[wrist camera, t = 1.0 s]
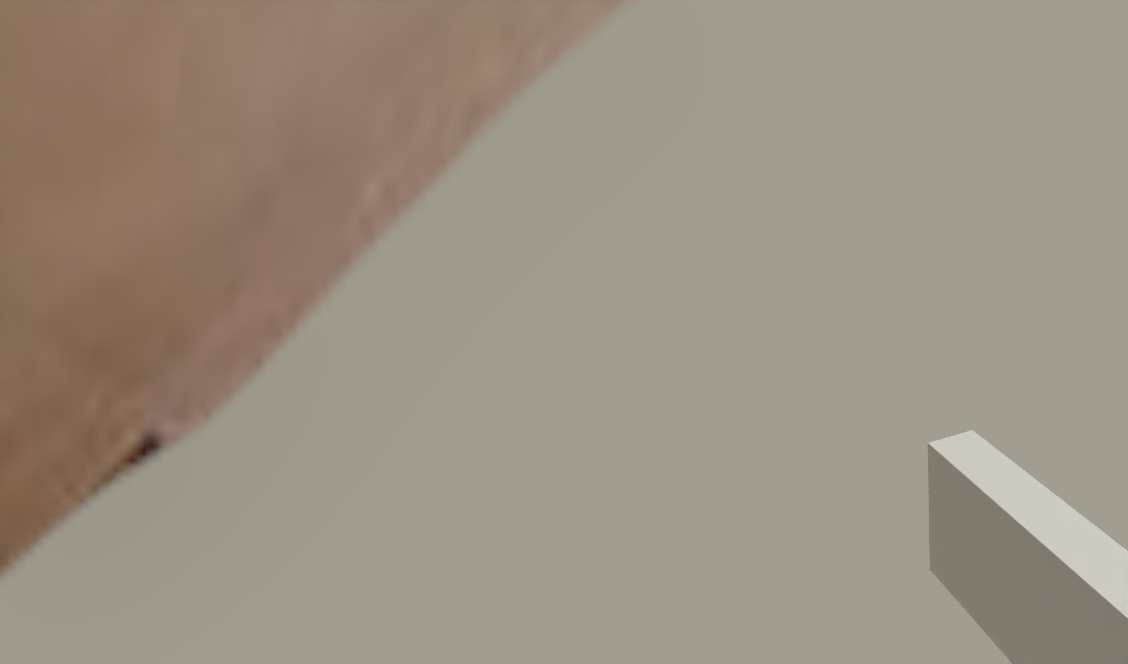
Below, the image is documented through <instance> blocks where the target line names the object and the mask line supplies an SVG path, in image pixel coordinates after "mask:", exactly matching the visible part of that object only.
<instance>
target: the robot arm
mask: <svg viewBox="0 0 1128 664" xmlns="http://www.w3.org/2000/svg"><path fill="white" fill-rule="evenodd" d="M928 474H929V475H928V477H929V546H930V570H931V571H932V572H933V574H934V575H935V576H936V577H937V578H938V579H939V580H940V582H941V583H942V584H943V585H944V586H945V587H946V588H947V590H949V592H950V593H951V594H952V595H953V596H954V598H955V599H956V600H957V601H958V602H959V603H960V604H961V605H962V607H963V608H964V609H965V610H966V611H967V612H968V613H969V615H970V616H971V617H972V618H973V619H974V620H975V622H977V624H978V625H979V626H980V627H981V628H982V629H983V631H984V632H985V633H986V634H987V635H988V636H989V637H990V638H991V640H992V641H993V642H994V643H995V644H996V645H997V647H998V648H999V649H1000V650H1001V651H1002V652H1003V653H1004V655H1005V656H1006V657H1007V658H1008V659H1009V660H1010V661H1011V663H1012V664H1128V551H1127V550H1125V549H1124V548H1123V547H1122V546H1120V545H1119V544H1118V543H1117V542H1115V541H1114V540H1113V539H1111V538H1110V537H1109V536H1108V535H1106V534H1105V533H1104V532H1102V531H1101V530H1100V529H1099V528H1097V527H1096V526H1095V525H1093V524H1092V523H1091V522H1090V521H1088V520H1087V519H1086V518H1084V517H1083V516H1082V515H1081V514H1079V513H1078V512H1077V511H1075V510H1074V509H1073V508H1072V507H1070V506H1069V505H1068V504H1066V503H1065V502H1064V501H1063V500H1061V499H1060V498H1059V497H1057V496H1056V495H1055V494H1054V493H1052V492H1051V491H1050V490H1048V489H1047V488H1046V487H1045V486H1043V485H1042V484H1041V483H1039V482H1038V481H1037V480H1036V479H1034V478H1033V477H1031V476H1030V475H1029V474H1028V473H1026V472H1025V471H1024V470H1023V469H1021V468H1020V467H1019V466H1018V465H1016V464H1015V463H1014V462H1012V461H1011V460H1010V459H1009V458H1007V457H1006V456H1005V455H1003V454H1002V453H1001V452H1000V451H998V450H997V449H996V448H994V447H993V446H992V445H991V444H989V443H988V442H987V441H985V440H984V439H983V438H982V437H980V436H979V435H978V434H976V433H975V432H974V431H973V430H972V431H968V432H965V433H962V434H958V435H954V436H951V437H948V438H944V439H940V440H937V441H933V442H930V443H928Z"/></svg>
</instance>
